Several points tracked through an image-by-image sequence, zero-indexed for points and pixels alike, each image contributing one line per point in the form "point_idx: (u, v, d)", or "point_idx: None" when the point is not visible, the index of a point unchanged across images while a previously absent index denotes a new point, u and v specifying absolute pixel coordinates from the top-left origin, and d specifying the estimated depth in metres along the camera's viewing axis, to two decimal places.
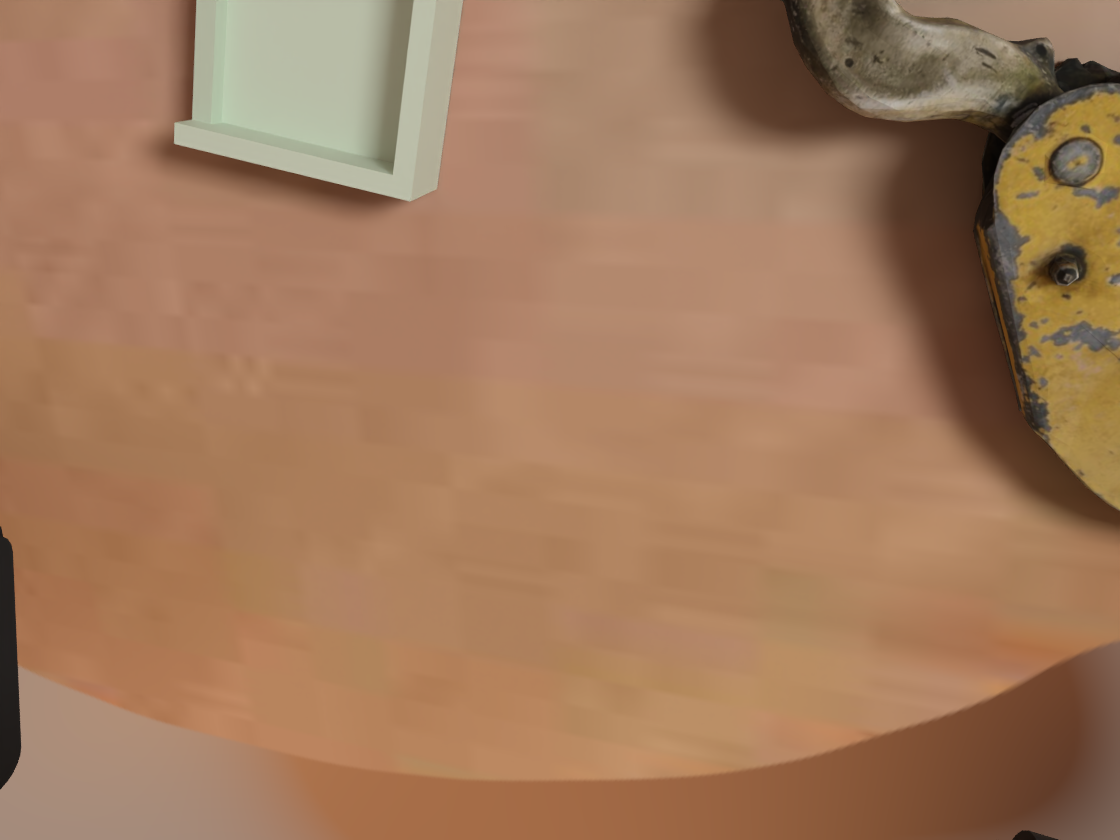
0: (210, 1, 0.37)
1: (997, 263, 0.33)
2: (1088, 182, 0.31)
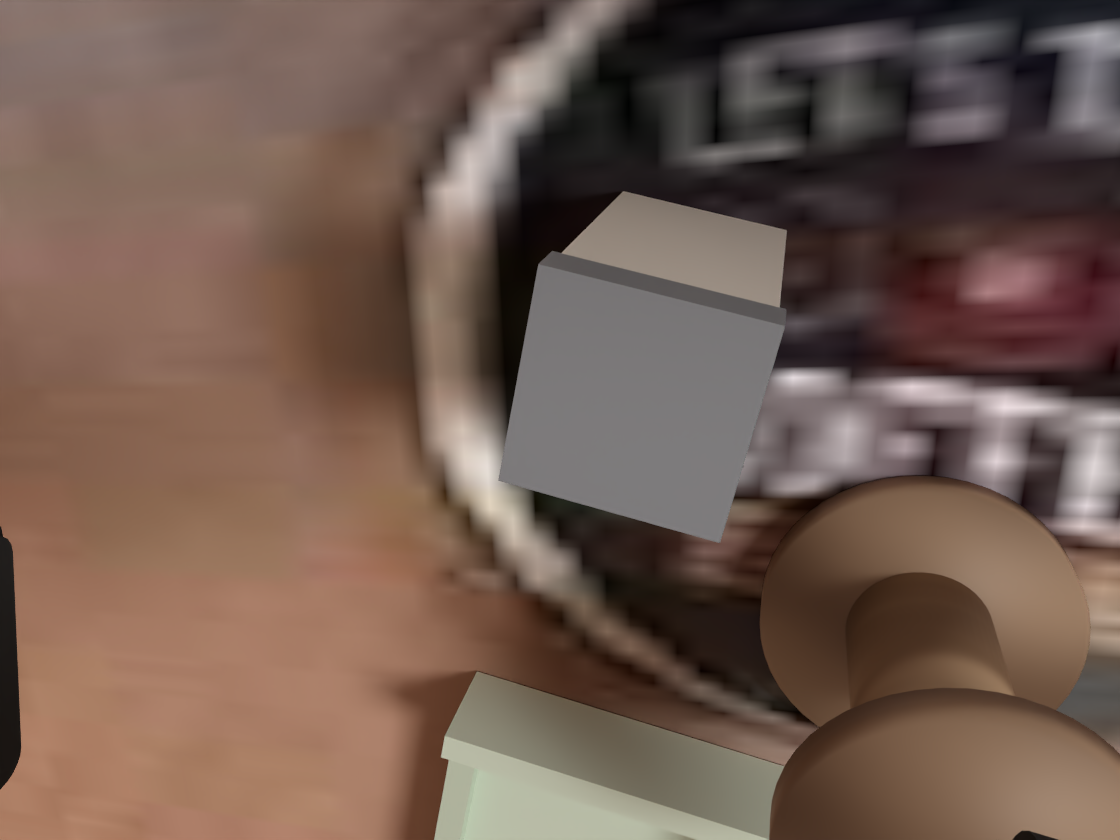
0: None
1: None
2: None
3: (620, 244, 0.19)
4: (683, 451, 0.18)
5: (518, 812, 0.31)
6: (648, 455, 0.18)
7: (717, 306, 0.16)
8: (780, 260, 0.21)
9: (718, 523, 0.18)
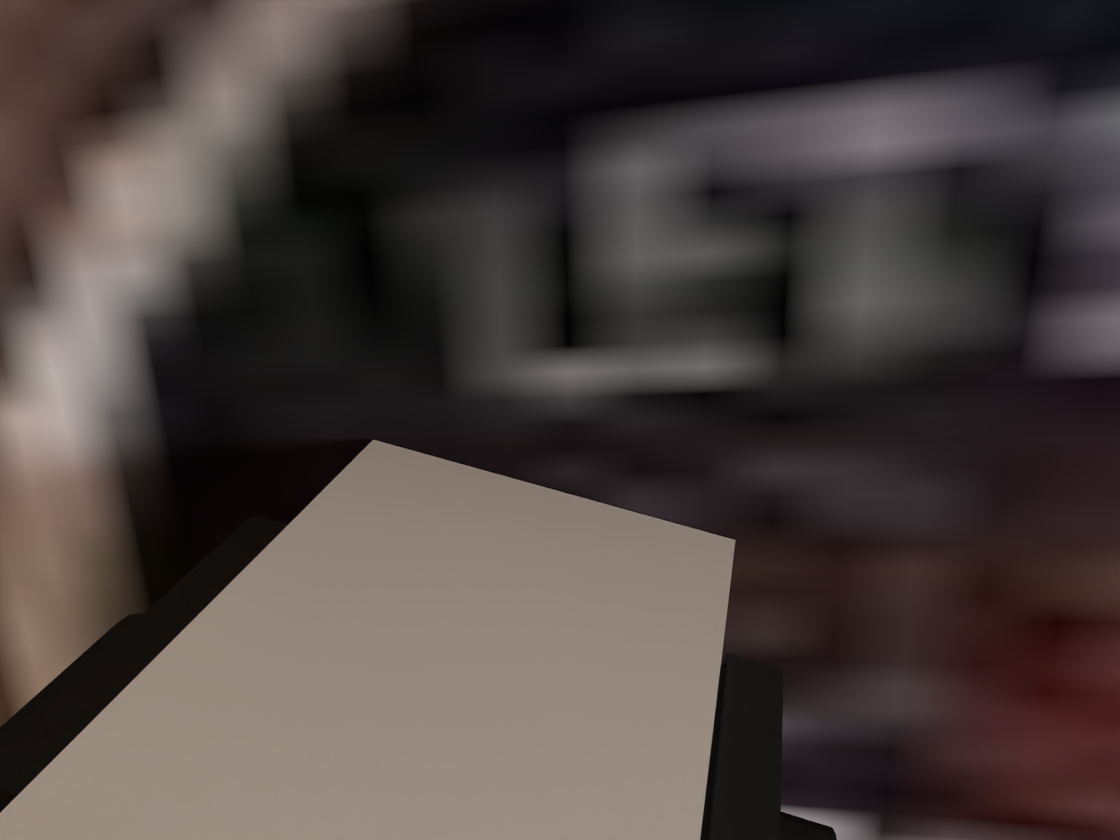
0: None
1: None
2: None
3: (180, 796, 0.06)
4: None
5: None
6: None
7: None
8: (701, 743, 0.07)
9: None
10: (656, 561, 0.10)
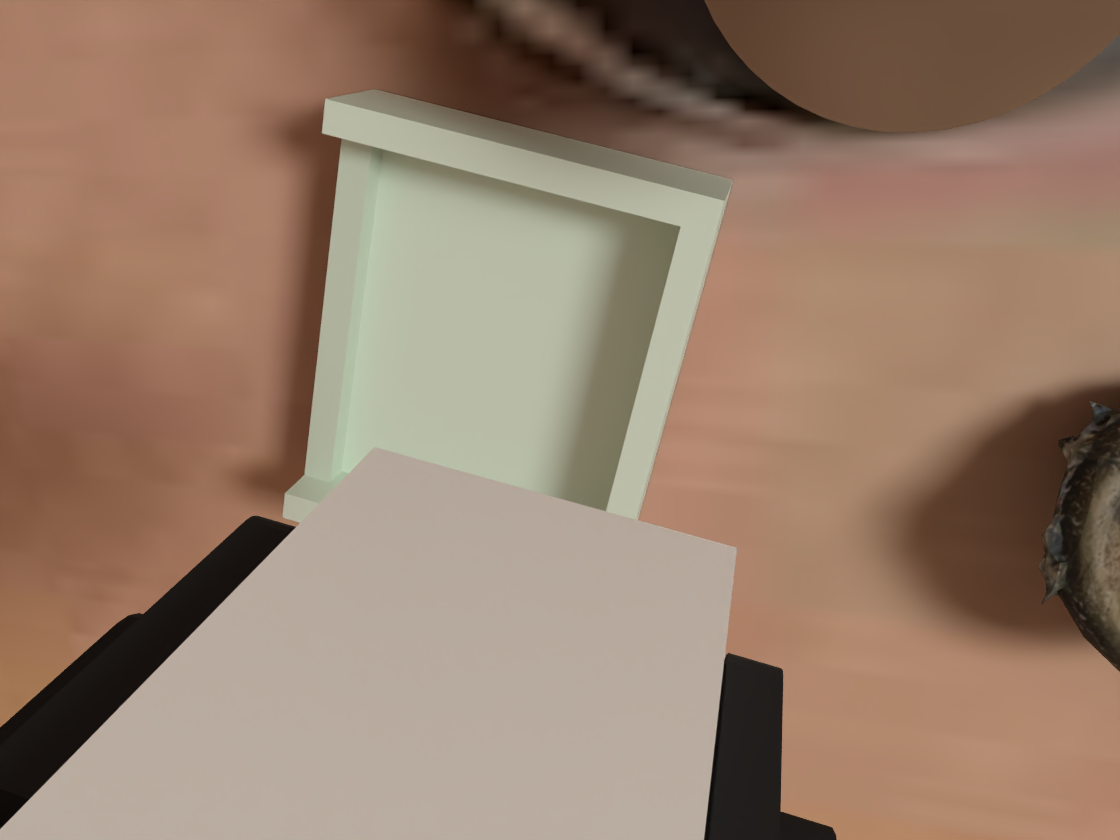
0: (339, 339, 0.27)
1: None
2: None
3: (183, 808, 0.06)
4: None
5: (422, 264, 0.27)
6: None
7: None
8: (703, 754, 0.07)
9: None
10: (658, 569, 0.10)
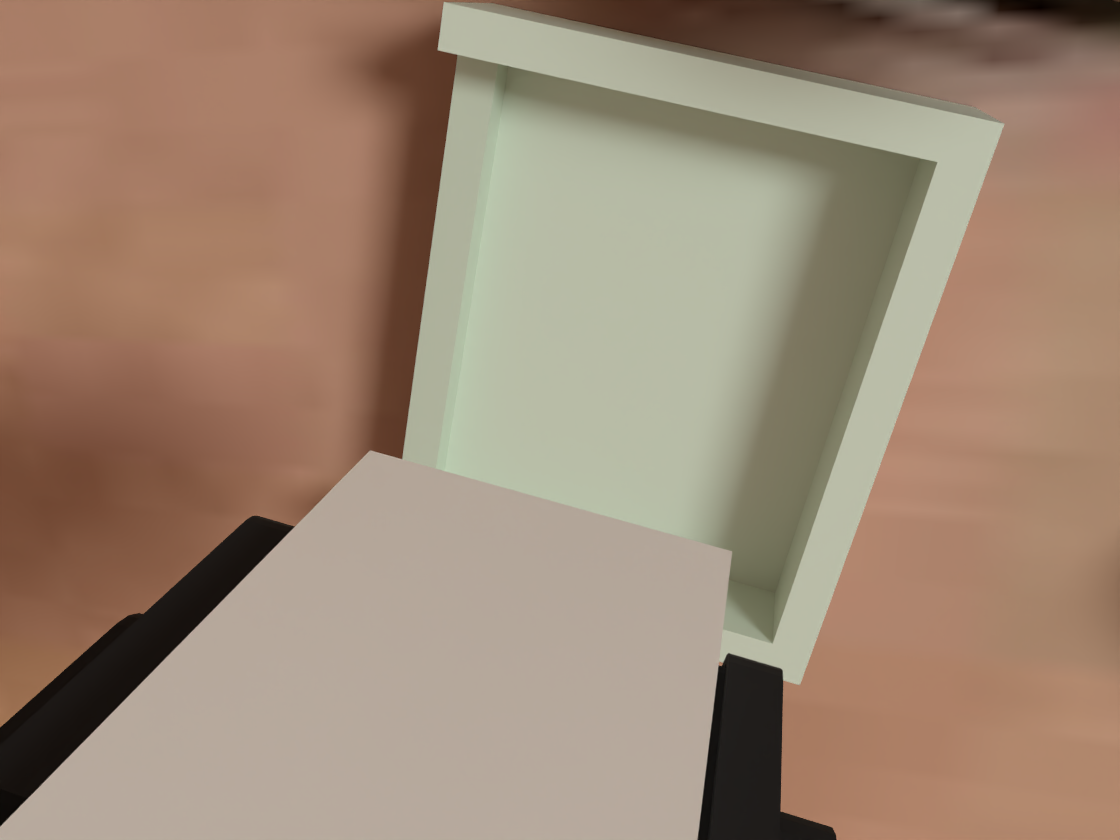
0: (445, 330, 0.21)
1: None
2: None
3: (173, 814, 0.06)
4: None
5: (555, 230, 0.20)
6: None
7: None
8: (697, 759, 0.07)
9: None
10: (652, 573, 0.10)
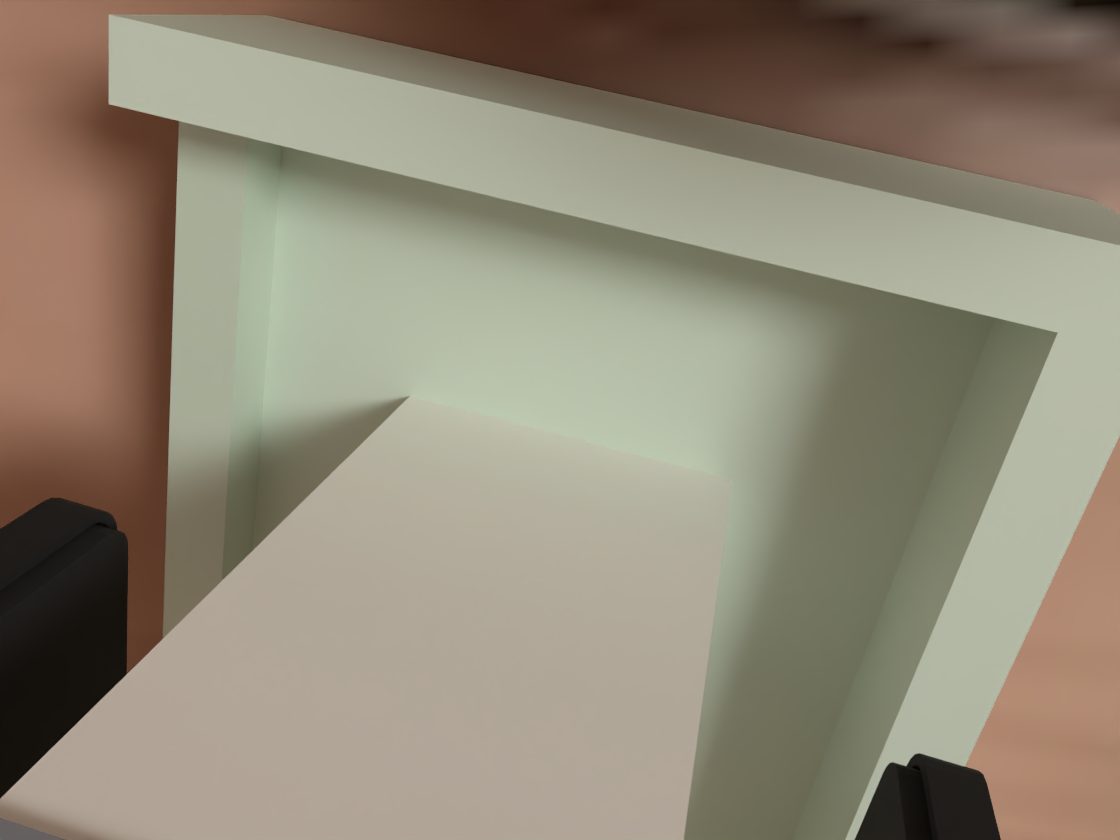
0: (206, 553, 0.13)
1: None
2: None
3: (275, 658, 0.07)
4: None
5: (379, 395, 0.12)
6: None
7: None
8: (703, 631, 0.09)
9: None
10: (663, 495, 0.11)
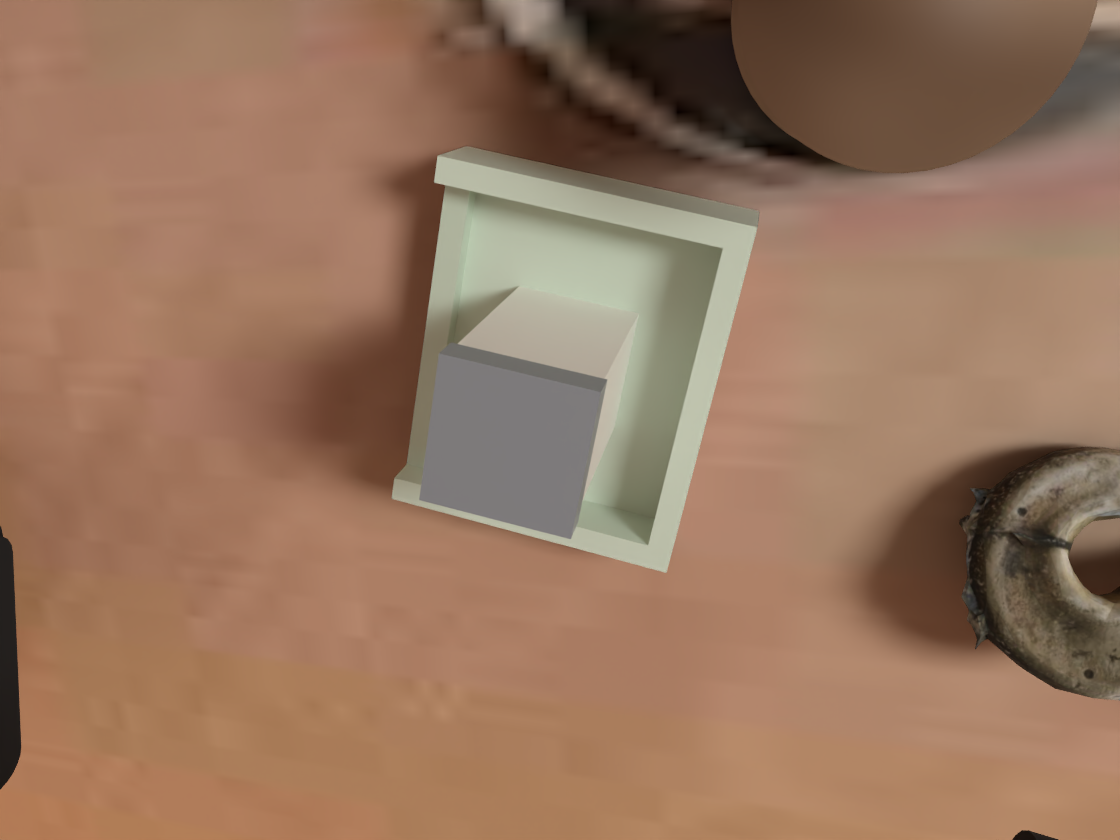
0: (439, 349, 0.33)
1: None
2: None
3: (504, 333, 0.28)
4: (542, 476, 0.26)
5: (507, 286, 0.33)
6: (519, 480, 0.26)
7: (557, 379, 0.25)
8: (622, 340, 0.29)
9: (568, 525, 0.26)
10: (612, 314, 0.31)
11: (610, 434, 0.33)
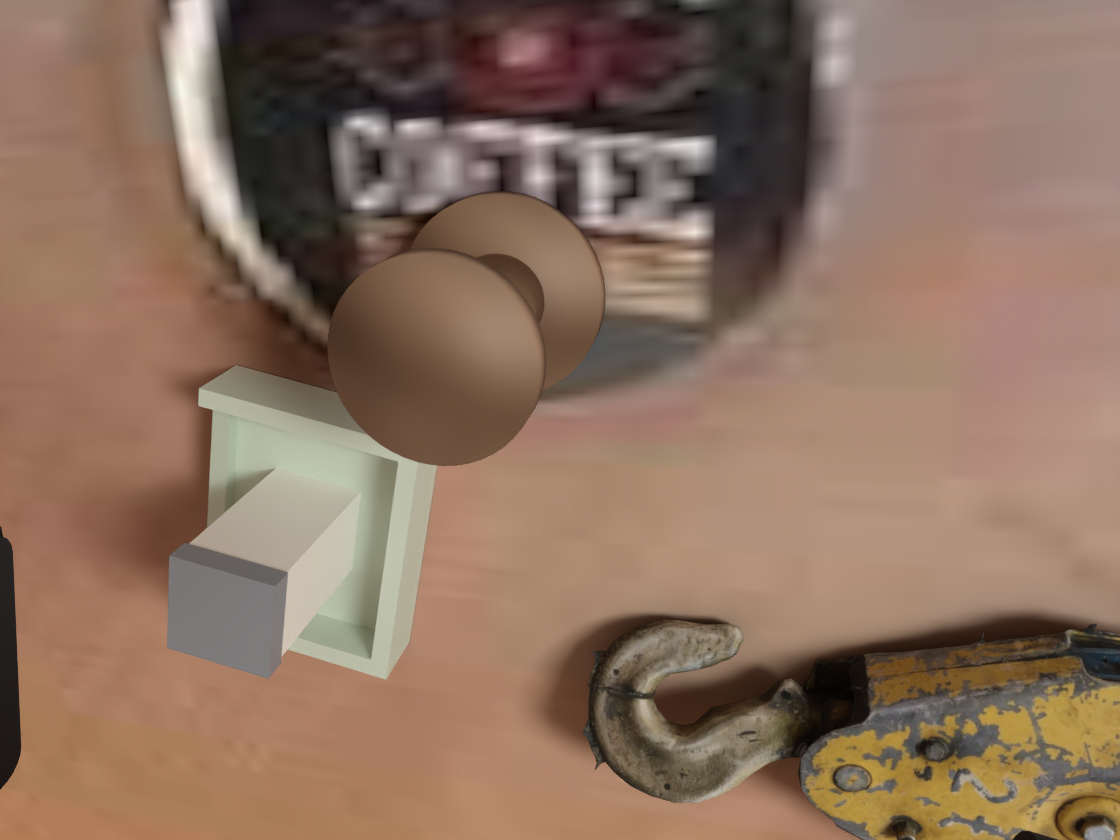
0: (219, 512, 0.44)
1: (860, 838, 0.41)
2: (870, 784, 0.39)
3: (234, 526, 0.39)
4: (246, 637, 0.37)
5: (267, 467, 0.44)
6: (230, 638, 0.37)
7: (248, 576, 0.36)
8: (328, 525, 0.40)
9: (266, 669, 0.37)
10: (337, 495, 0.43)
11: (343, 578, 0.44)
